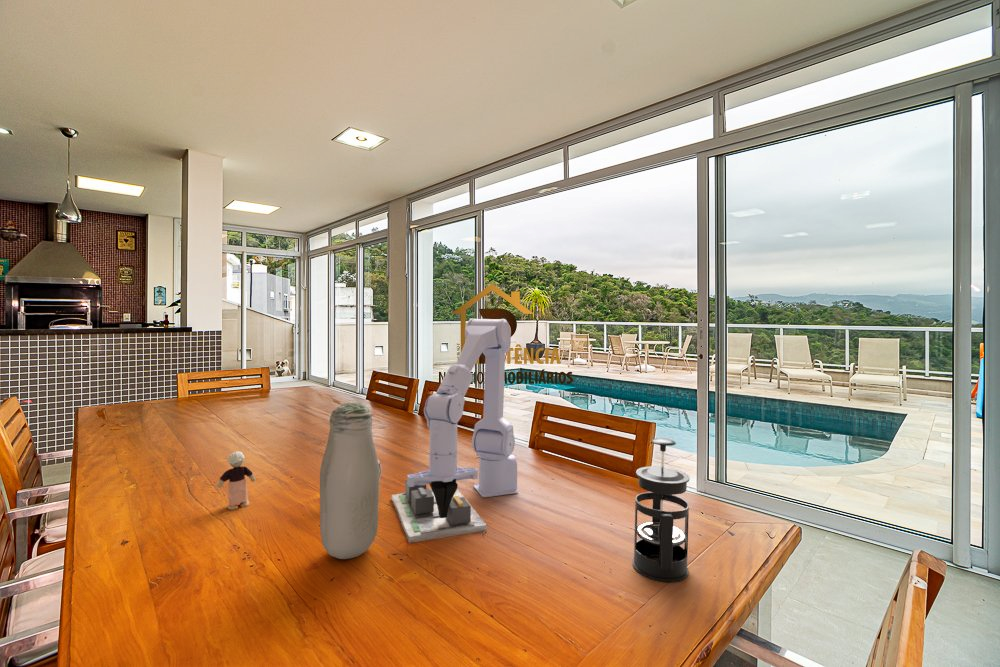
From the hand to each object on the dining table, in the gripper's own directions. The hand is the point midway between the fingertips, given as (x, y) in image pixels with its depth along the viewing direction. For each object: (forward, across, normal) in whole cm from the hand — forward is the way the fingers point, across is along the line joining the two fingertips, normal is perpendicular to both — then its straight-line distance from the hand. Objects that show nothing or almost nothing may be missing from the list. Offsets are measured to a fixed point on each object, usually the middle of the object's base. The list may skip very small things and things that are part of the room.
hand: (442, 516), depth 98 cm
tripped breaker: (+1, +3, 0) cm, 3 cm away
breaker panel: (+3, 0, +8) cm, 8 cm away
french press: (+3, +32, -28) cm, 43 cm away
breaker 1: (+1, -3, +15) cm, 15 cm away
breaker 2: (+1, -3, +7) cm, 8 cm away
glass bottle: (+3, -19, -4) cm, 19 cm away
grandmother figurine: (+3, -42, +26) cm, 49 cm away
